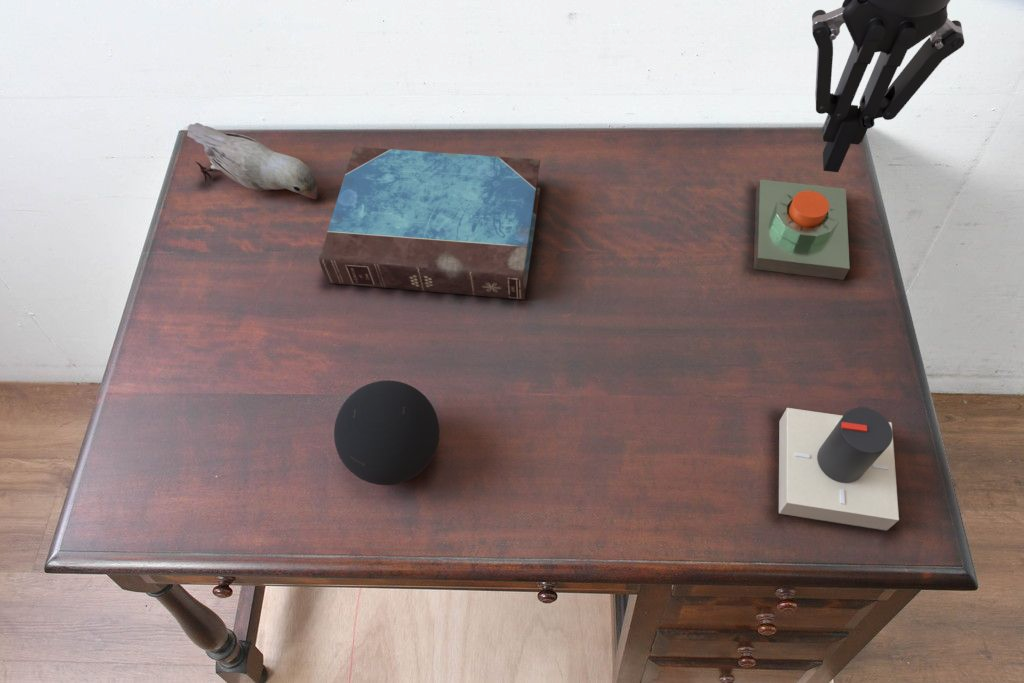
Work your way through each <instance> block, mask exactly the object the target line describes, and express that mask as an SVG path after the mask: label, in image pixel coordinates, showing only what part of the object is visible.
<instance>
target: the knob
mask: <svg viewBox="0 0 1024 683" xmlns="http://www.w3.org/2000/svg"><path fill="white" fill-rule="evenodd" d="M842 416H843V417H842V418H841V420H840V421H839V422H838V424H837V425H836V426H835V428H834V429H833V431H832V432H831V433H830V435H829V436H828V437H827V439H826V440H825V442H824V443H823V444H822V446H821V447H820V449H819V451H818V455H817V460H818V464H819V466H820V468H821V470H822V471H823V472H824V474H825V475H827V476H828V477H829V478H831V479H832V480H835V481H837V482H841V483H850V482H854V481H856V480H858V479H859V478H860V477H861V476H862V475H863V474H864V473H865V472H866V471H867V470H868V469H869V467H870V466H871V465H872V464H873V463H874V462H875V461H876V460H877V459H878V457H879V456H880V455H881V454H882V453H883V452H884V451H885V450H886V449H887V447H888V446H889V445H890V443H891V441H892V437H893V438H894V434H892V432H893V428H892V429H891V426H890V424H889V422H890V421H888V419H887V418H886V417H885V416H884V415H883V414H881V413H880V412H878V411H876V410H874V409H872V408H870V407H859V406H858V407H854V408H851V409H849V410H848V411H846V412H845V413H844V414H843V415H842Z"/></svg>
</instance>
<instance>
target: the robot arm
mask: <svg viewBox="0 0 1024 683" xmlns="http://www.w3.org/2000/svg"><path fill="white" fill-rule="evenodd" d="M950 2H951V0H843V2H842V5H841V7H839V8H836V9H834V10H832V11H829V12H827V11H825V10H824V9H817V10H815V11H814V12H813V13H812V15H811V26H812V28H811V29H812V30H811V31H812V32H811V33H812V37H813V39H814V42H815V44H816V47H817V52H816V56H817V57H816V72H815V94H814V96H815V111H816V113H817V114H819V115H823V114H827V115H826V118H825V120H824V123H823V126H822V140H823V142H826V143H825V146H824V148H823V150H822V167H823V169H822V170H823V172H830V173H831V172H832V173H839V171H840V170H841V167H842V164H843V162H844V160H845V158H846V156H847V153H848V152H849V149H850V147H851V145H860V144H861V143H862V142H863V141H864V138H865V136H866V134H867V131H868V129H872V128H873V127H874V126H875V120H876V119H880V118H883V120H886V121H890V120H893V119H895V117H897V116H898V114H899V113H900V112H901V111H902V110H903V109H904V108H905V106H906V105H907V104H908V102H909V101H910V100H911V99H912V98H913V96H914V95H915V94H916V93H917V92H918V91H919V89H920V88H921V87H922V86H923V84H924V83H925V82H926V81H927V80H928V79H929V77H930V76H931V75H932V74H933V73H934V71H936V69H937V68H938V67H939V65H940V64H941V63H942V62H943V61H944V60H946V59H947V58H948V57H950V56H951V55H953V54H954V53H955V52H957V51H958V50H960V49H961V48H963V46H964V44H965V37H964V32H963V26H962V22H961V21H959V20H958V19H957V20H956V19H954V20H951V19H950V18H948V5H949V3H950ZM844 24H845V27H846V29H847V31H848V33H849V35H850V37H851V40H852V42H853V44H852V48H851V50H850V53H849V55H848V58H847V60H846V63H845V66H844V68H843V71H842V73H841V76H840V78H839V81H838V84H837V85H836V88H835V92H834V93H831V91H832V90H831V88H832V73H833V62H834V61H833V59H834V41H835V40H836V39H837V37H838V36H839V35H840V32H841V27H842V25H844ZM925 39H926V41H925V42H924V43H922V45H921V47H920V48H919V49H918V50H917V51H916V53H915V54H914V55H913V56H912V58H911V59H910V60H909V62H908V63H906V66H905V67H904V68H903V69H902V71H901V72H900V73H899V74H898V75H897V77H896V78H895V79H894V81H893V78H894V77H895V74H896V72H897V70H898V68H900V67H901V65H902V64H903V61H904V59H905V56H906V54H907V53H908V50H909V51H910V49H912V48H913V47H915V46H916V45H918V44H920V43H921V42H922V41H924V40H925ZM876 53H879V55H878V57H877V59H876V62H875V63H874V67H873V69H872V71H871V74H870V76H869V78H868V81H867V83H866V85H865V88H864V90H863V93H862V94H861V97H860V99H859V105H858V104H857V105H856V104H853V102H854V99H855V97H856V94H857V92H858V89H859V87H860V85H861V82H862V81H863V78H864V75H865V72H866V71H867V68H868V67H869V65H871V63H872V61H873V58H874V56H875V54H876Z"/></svg>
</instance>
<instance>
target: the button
mask: <svg viewBox="0 0 1024 683" xmlns="http://www.w3.org/2000/svg"><path fill="white" fill-rule="evenodd" d="M828 210H829V203H828V200H827V199H826V198H825V197H824V196H823V195H822V194H820V193H818V192H815V191H802V192H799V193H798V194H796V195H795V196H794V198H793V200H792V203H791V206H790V208H789V216H790V218H791V219H792V220H793V221H794V222H795V223H796V224H798V225H800V226H803V227H816V226H818V225H820V224H821V223H822V222H823V221H824V219H825V217H826V214H827V212H828Z"/></svg>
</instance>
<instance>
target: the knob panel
mask: <svg viewBox="0 0 1024 683" xmlns="http://www.w3.org/2000/svg"><path fill="white" fill-rule="evenodd" d="M842 417H843V415H842V414H834V413H827V412H820V411H813V410H808V409H807V410H805V409H800V408H799V409H798V408H791V407H786V409H785V411H784V413H783V414H782V416H781V418H780V419H779V425H778V426H779V427H778V429H779V430H778V432H779V434H778V436H779V437H778V438H779V439H778V514H779V515H784V516H785V515H787V516H793V517H798V518H805V519H811V520H816V521H817V520H818V521H824V522H830V523H836V524H841V525H849V526H855V527H862V528H867V529H873V530H881V531H888V530H890V528H892V527H893V526H894V525H896V523H897V522H899V521H900V516H899V502H898V487H897V486H898V485H897V474H896V460H895V447H894V436H893V437H892V441H891V443H890V445H889V446H888V447H887V449H886V450H885V451H884V452H883V453H882V454H881V455H880V456H879V457H878V459H877V460H876V461H875V462H874V463H873V464H872V465H871V466H870V467H869V469H868V470H867V471H866V472H865V473H864V474H863V475H862V476H861V477H860V478H859V479H858V480H856V481H854V482H850V483H841V482H837V481H835V480H832V479H831V478H829V477H828V476H827V475H825V474H824V472H823V471H822V470H821V468H820V466H819V464H818V460H817V455H818V451H819V449H820V447H821V446H822V444H823V443H824V442H825V440H826V439H827V437H828V436H829V435H830V433H831V432H832V431H833V429H834V428H835V426H836V425H837V424H838V422H839V421H840V420H841V418H842ZM888 422H889V424H890V426H891V429H892V430H893V422H891V421H888ZM892 434H893V431H892ZM893 435H894V434H893Z"/></svg>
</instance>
